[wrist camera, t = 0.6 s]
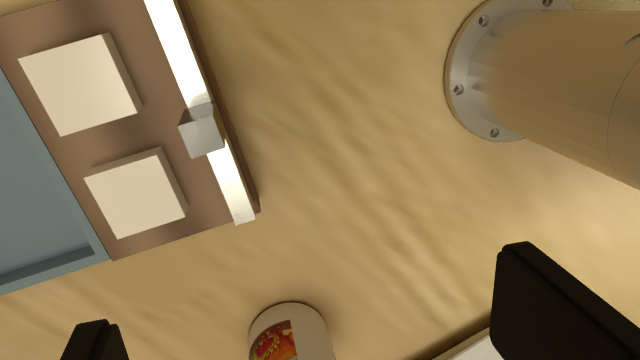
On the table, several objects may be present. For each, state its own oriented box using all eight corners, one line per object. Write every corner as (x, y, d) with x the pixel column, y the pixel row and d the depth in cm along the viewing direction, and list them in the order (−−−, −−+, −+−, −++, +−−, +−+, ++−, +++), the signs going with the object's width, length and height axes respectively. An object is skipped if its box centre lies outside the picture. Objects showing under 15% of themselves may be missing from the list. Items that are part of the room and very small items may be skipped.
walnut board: (175, -29, 30) (170, -32, 27) (258, 196, 37) (260, 211, 34) (0, 21, 29) (-24, 23, 26) (121, 241, 36) (112, 261, 33)
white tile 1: (109, 32, 28) (101, 34, 26) (143, 106, 30) (137, 113, 28) (31, 55, 27) (17, 58, 25) (70, 128, 29) (60, 136, 27)
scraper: (175, -15, 27) (160, -20, 21) (257, 203, 34) (263, 247, 28) (144, -6, 27) (119, -9, 21) (232, 211, 33) (233, 257, 27)
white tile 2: (161, 145, 31) (156, 154, 29) (187, 205, 33) (185, 217, 31) (92, 167, 31) (83, 178, 29) (123, 226, 33) (117, 239, 31)
